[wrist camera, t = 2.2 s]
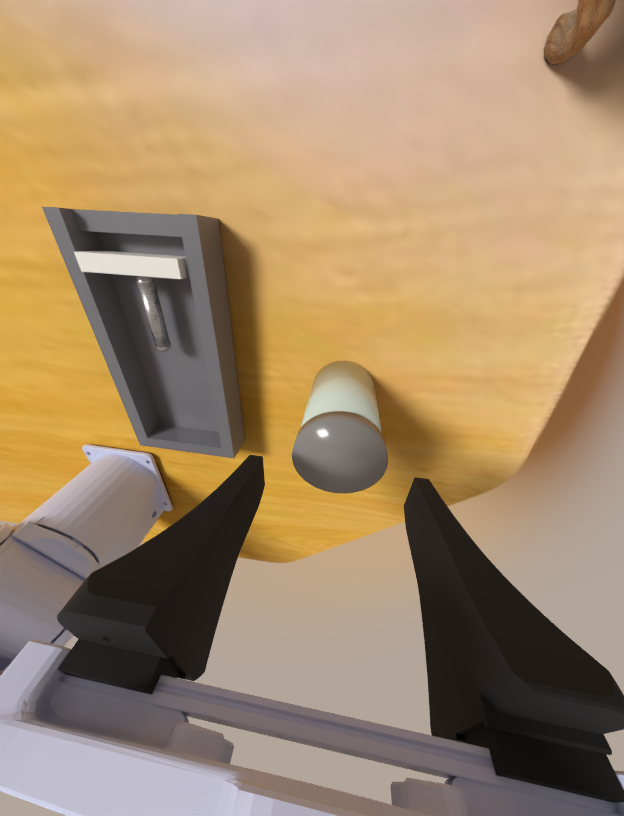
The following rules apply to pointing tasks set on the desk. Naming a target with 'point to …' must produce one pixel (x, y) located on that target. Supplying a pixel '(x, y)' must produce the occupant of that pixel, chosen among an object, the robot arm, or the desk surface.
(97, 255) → the pusher
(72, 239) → the pusher lane
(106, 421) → the desk surface
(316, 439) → the jar
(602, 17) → the lion figurine
